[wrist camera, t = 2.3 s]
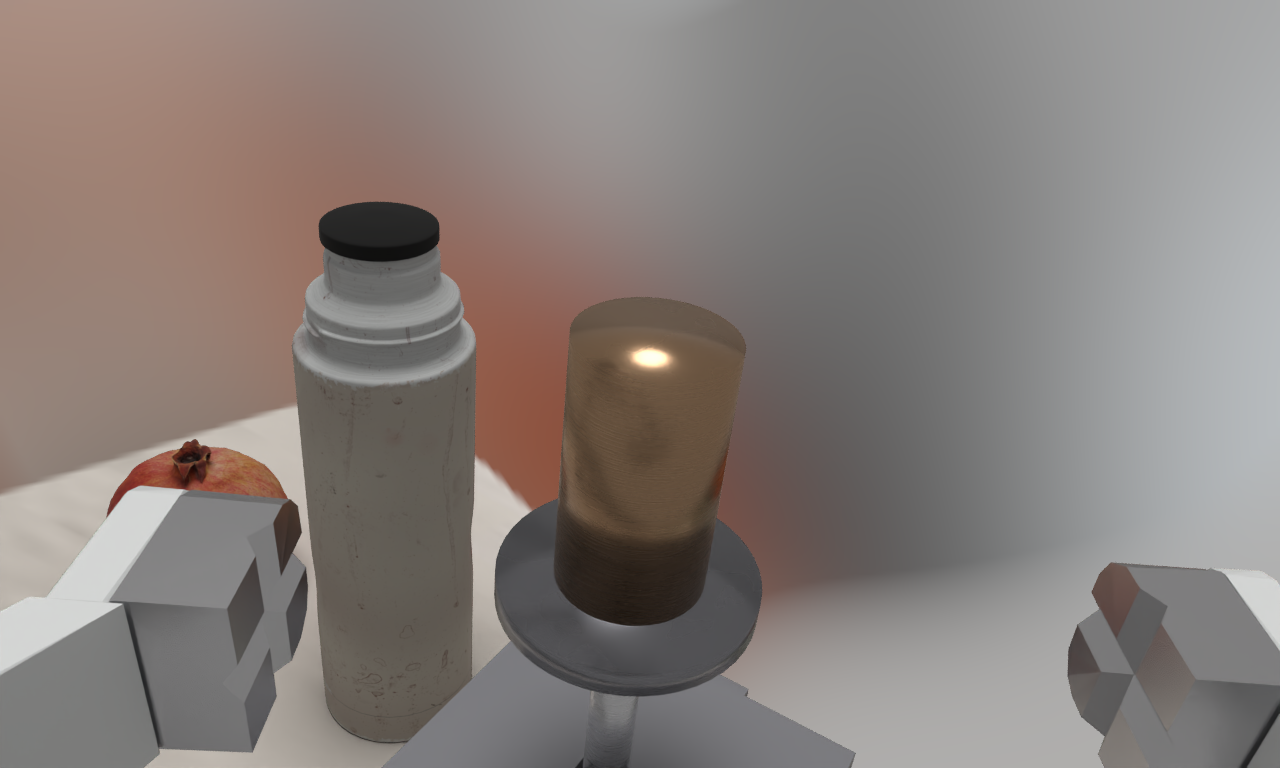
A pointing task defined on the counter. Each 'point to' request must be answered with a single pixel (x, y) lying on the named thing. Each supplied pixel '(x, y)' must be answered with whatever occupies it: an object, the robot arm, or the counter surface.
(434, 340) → the thermos bottle
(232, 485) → the fruit
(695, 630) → the brown candle holder
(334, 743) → the counter surface
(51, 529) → the counter surface
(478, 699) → the press carafe
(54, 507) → the counter surface
